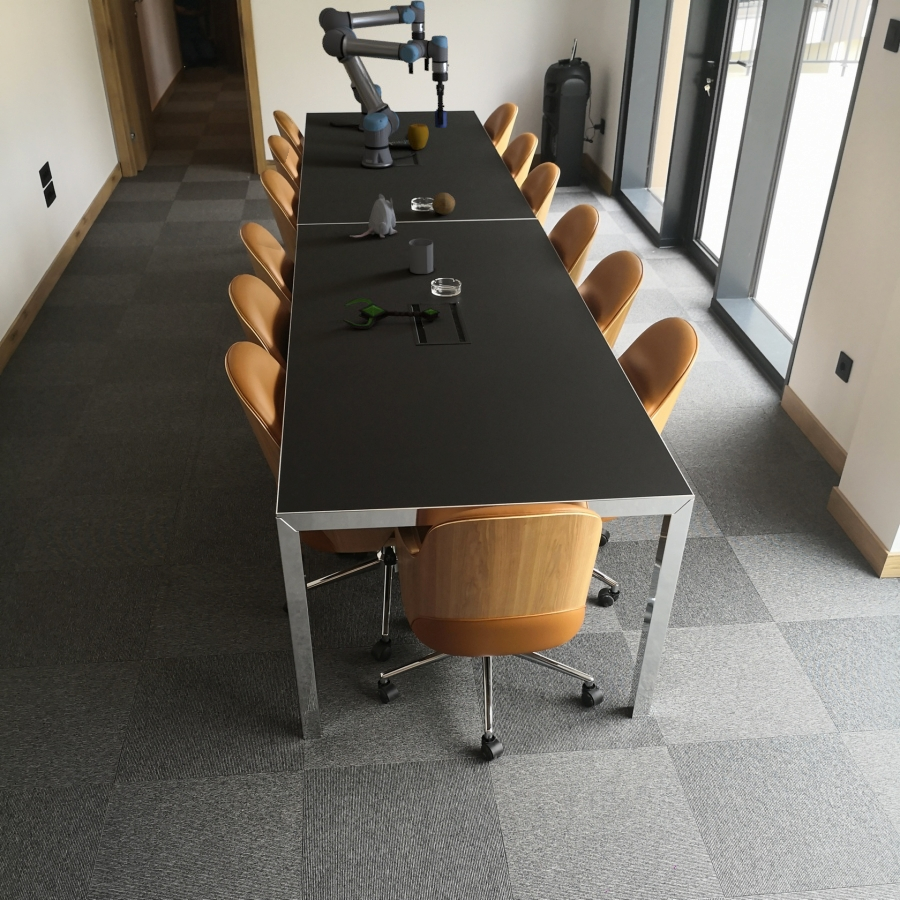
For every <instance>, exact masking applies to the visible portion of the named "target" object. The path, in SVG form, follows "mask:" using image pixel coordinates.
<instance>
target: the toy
mask: <svg viewBox="0 0 900 900" xmlns="http://www.w3.org/2000/svg"><path fill="white" fill-rule="evenodd" d="M396 222H397V219H396V215H395V211H394V202H393V199H392V197H390V200H387V199H385V196H384V195H383V194H382V193H379V194H378V199H376V200H375V201H374V203H373V206H372V208H371V212H370V217H369V219H368V223H367V224H368V225H367V226H368V229H367V231H365V232H363V233H362V234H358V235H350V238H351V237H352V238H363V237H365V236H367V235H369V234H370V235H375V234H377V235H379V238H382V239H385V238H386V236H385V235H387V234H388V235H394V234H397V233H398V231H397V230H396V229H394V228H395V227H396V225H397V224H396Z"/></svg>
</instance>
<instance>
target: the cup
mask: <svg viewBox="0 0 900 900" xmlns="http://www.w3.org/2000/svg"><path fill="white" fill-rule="evenodd" d="M408 253H409V272H411V273H412V274H416V275H426V274H430V273H432V272H434V241H433V240H431V239H428V238H422V237H421V238H420V237H419V238H414V239H411V240H410V241H409V242H408Z"/></svg>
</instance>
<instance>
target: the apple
mask: <svg viewBox="0 0 900 900" xmlns="http://www.w3.org/2000/svg"><path fill="white" fill-rule="evenodd" d="M428 139H429V128H428V126H427V125H426V124H425V123H419V122H418V123H411V124H410V125H408V128H407V140H408V144H409V145H410V148H411V149H412V150H414V151H419V150H422V149H424V148H425V147H426V145H427V142H428Z"/></svg>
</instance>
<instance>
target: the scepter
mask: <svg viewBox="0 0 900 900" xmlns="http://www.w3.org/2000/svg"><path fill="white" fill-rule="evenodd" d="M362 302H363V303H367V304H368V305H366V306H365V307H362V308H360V309H358V312H360V313H359V314H358V317H360V318H362V319H364V320H366V321H368V322H367V323H366V324H357V323H355V322H352V321H349V320H347V319H343V320H342V321H343V322H345V323H346V324H348V325H349V326H351V327H352V328H354V329H361V330H362V329H363V330H368V329H369V330H370V329H371V328H372V327H373V325H374V324H375V323H377V322H379V321H381V320H383V319H385V318H388V317H401V318H403V317H408V318H412V317H414V318H422V319H425V320H426V321H429V322H432V321H434V320H437V319H440V317H441V316H439V314H440V313H441V311H439V310H437V309H434V308H433V307H429V308H427V309H425V310H422V311H410V310H409V311H406V310H405V311H404V310H403V311H399V310H394V311H391V310H390V311H389V310H387V309H386V308H384V307H382V306H380V305H378V304H376V303H375V302H374V300H372V298H368V297H357V298H354V299H352V300H350V301H349V302H347V303H344V304H343V306H344V307H346V306H349V305H353V304H356V303H362Z"/></svg>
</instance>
